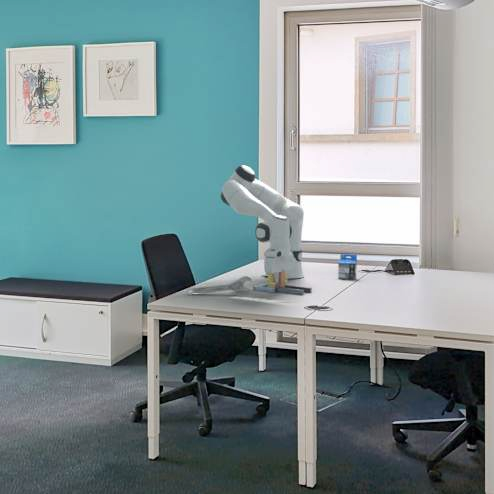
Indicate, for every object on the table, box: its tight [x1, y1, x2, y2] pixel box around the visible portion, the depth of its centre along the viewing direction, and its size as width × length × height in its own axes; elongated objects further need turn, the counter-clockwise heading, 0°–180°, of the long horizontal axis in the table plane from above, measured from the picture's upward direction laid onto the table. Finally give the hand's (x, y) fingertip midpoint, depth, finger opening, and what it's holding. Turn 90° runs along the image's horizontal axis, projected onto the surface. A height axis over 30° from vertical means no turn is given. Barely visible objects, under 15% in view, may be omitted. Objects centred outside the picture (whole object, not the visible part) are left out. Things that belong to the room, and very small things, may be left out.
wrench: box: [186, 275, 253, 294], centre depth 325 cm, size 8×2×30 cm
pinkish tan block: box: [276, 267, 286, 288], centre depth 326 cm, size 3×4×10 cm
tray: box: [252, 282, 276, 293], centre depth 329 cm, size 11×12×3 cm
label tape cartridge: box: [337, 253, 358, 280], centre depth 368 cm, size 9×4×12 cm, turn 68°
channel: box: [275, 284, 313, 296], centre depth 322 cm, size 14×10×4 cm
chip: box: [267, 282, 276, 292], centre depth 328 cm, size 4×4×4 cm
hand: (279, 281), depth 326 cm, fingers closed on pinkish tan block, 3 cm apart
